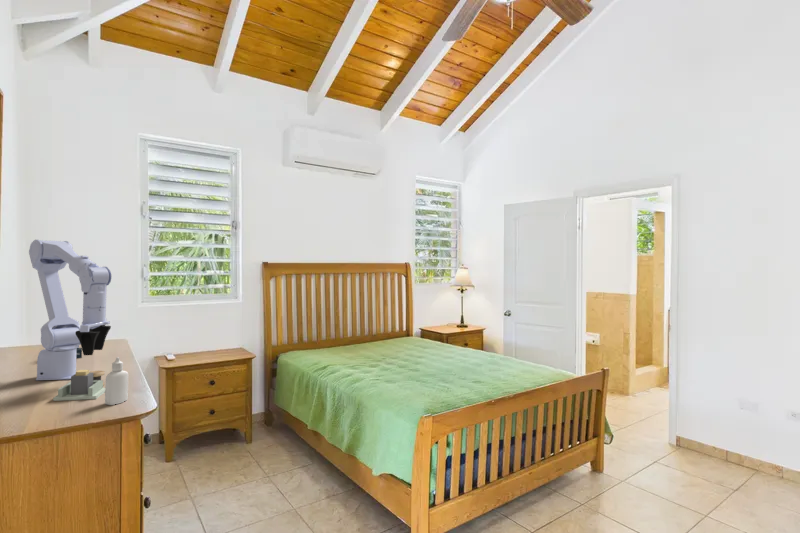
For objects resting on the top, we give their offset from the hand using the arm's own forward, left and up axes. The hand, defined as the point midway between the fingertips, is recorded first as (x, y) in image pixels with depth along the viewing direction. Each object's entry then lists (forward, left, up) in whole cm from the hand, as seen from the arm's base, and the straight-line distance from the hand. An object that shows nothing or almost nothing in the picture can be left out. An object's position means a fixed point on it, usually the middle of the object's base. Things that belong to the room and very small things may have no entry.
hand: (93, 352), depth 136 cm
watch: (-20, +41, -10) cm, 47 cm away
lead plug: (+1, -11, -9) cm, 14 cm away
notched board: (+1, -11, -10) cm, 15 cm away
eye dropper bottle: (+12, -19, -10) cm, 25 cm away
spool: (+1, -2, -10) cm, 10 cm away
